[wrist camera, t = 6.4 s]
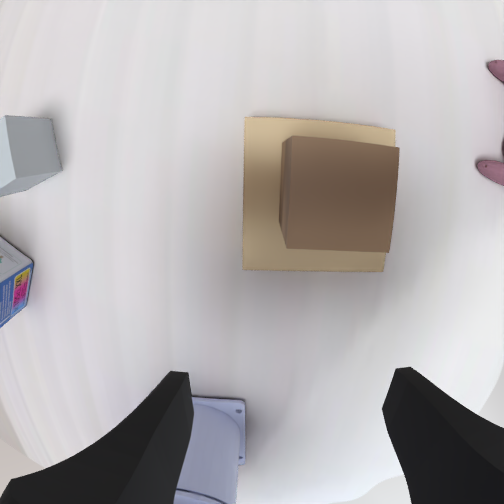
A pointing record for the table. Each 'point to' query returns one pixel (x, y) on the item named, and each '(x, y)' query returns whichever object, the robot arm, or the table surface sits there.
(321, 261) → the oak slab
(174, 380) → the robot arm
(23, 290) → the ink cartridge box
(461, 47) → the table surface
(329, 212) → the walnut block
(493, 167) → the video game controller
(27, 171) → the grey block
